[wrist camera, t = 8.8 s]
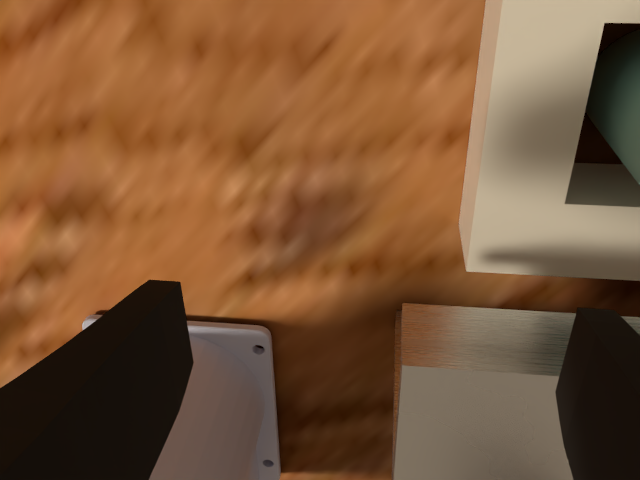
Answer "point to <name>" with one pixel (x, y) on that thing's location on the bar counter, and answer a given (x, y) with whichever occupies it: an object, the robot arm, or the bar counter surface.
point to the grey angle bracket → (479, 393)
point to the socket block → (544, 149)
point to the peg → (618, 99)
